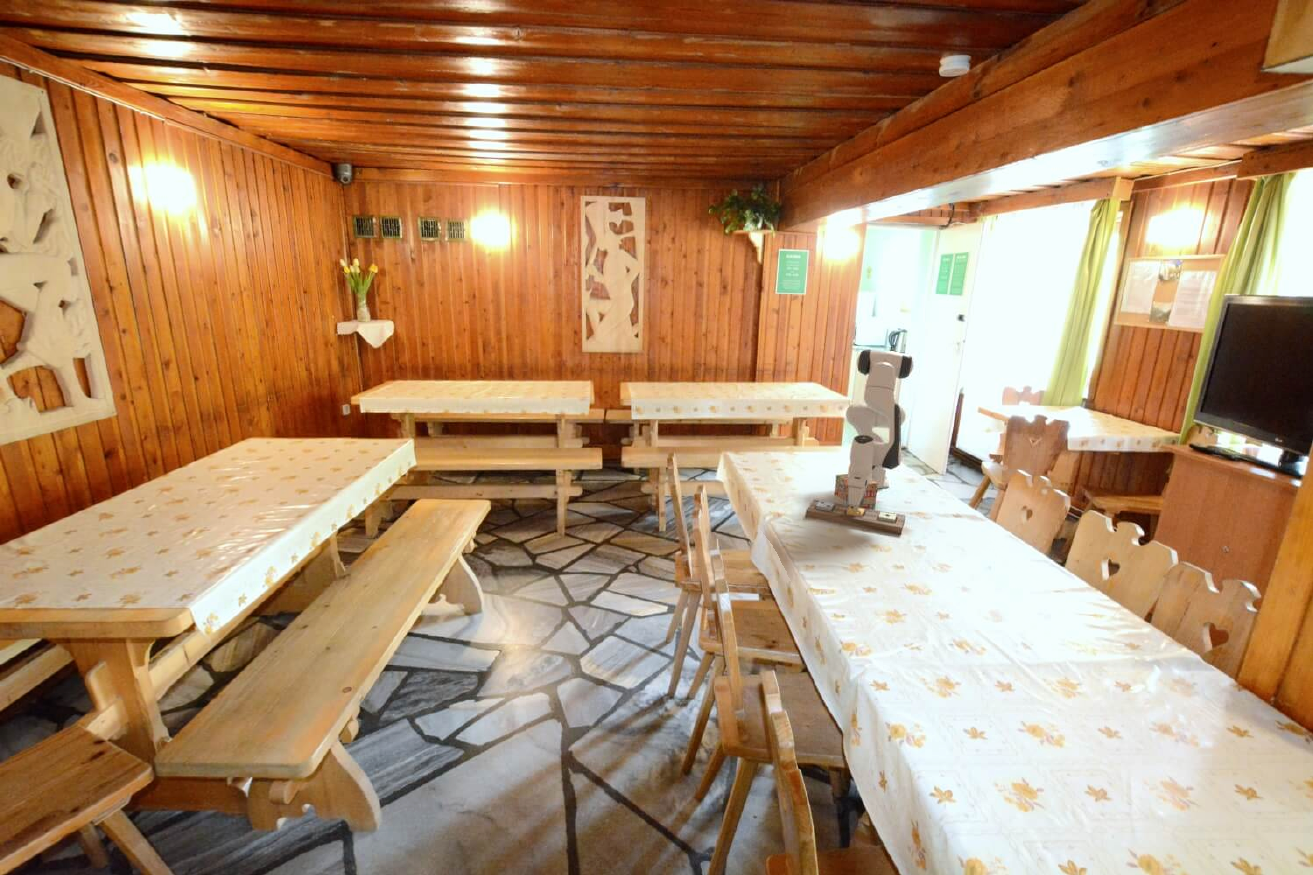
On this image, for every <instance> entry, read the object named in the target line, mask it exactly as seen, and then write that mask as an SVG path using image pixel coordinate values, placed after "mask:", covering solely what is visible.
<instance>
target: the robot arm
mask: <svg viewBox="0 0 1313 875" xmlns="http://www.w3.org/2000/svg"><path fill="white" fill-rule="evenodd" d="M913 360H914V359H913V356H911V355H910V354H908V353H905V352H904V353H901V352H897V351H892V350H872V349H865V350H862V351H861V352H860V353H859V355H858V357H857V360H856V367H857V371H858V372H859V373H860V374H862V375H864V376H867V375H868V376H867V379H866V382H865V388H864V393H863V395H864V396H863V399H864V400H863V401H864V402H857V403H852V404H850V405H849V406H848V407H847V409H846V411H845V418H846V421H847V422H848V424H850V425H851V426H852V427H853V428H854V430H855V432H856V433H857V435H856V436H854V438H853V439H852V442H851V448H850V452H849V466H848V471H847V474H848V483H847V485H848V486H849V491H848V502H847V503H848V505H849V506H854V507H853V510H854V511H858V509H859V505H860V502H861V500H862V498H863V496H864V494H865V492H866V487H867V485H868V484H869V483H871V479H872V480H873V481H875V482H877V483H878V487H877V490H878V489H885V488H890V484H889V480H888V477H887V476H886V474H887V473H886V472H887V470H893V469H896V468H898V467H899V466H900V465H901V463H902V460H903V452H902V425H904V423H905V421H906V412H905V410H904V408H903V407H902V406H901V405H899V403H898V402H896V400H895V396H894V395H895V394H894V393H895V387H896V379H900V380H901V379H906V378H908V377H910V375H911V373H912V372H913V369H914V361H913ZM873 428H884V429H889V436H888V437H889V438H888V440H889V441H888V442H885V439H884V438H883V437H882V436H881V435H879V434H877V432H874V431H873ZM886 469H887V470H886Z"/></svg>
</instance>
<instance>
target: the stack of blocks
mask: <svg viewBox="0 0 1313 875" xmlns="http://www.w3.org/2000/svg"><path fill="white" fill-rule="evenodd" d="M847 483H848V473H844V474H835V484H834V488H835V489H834V495H835V496H837V497H838V498H840V499H842V500H844V501H845V502H847V503H848V491H849V486H848V485H847ZM877 487H878V483H877V482H875V481H873V480H872V479H871V483H869V484H868V485H867V487H866V492H865V494H864V496H863V498H862V500H861V502H860V505H859V507H860V508H866V509H872V510H876V502H877V496H878V495H877V494H878V489H877Z"/></svg>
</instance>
